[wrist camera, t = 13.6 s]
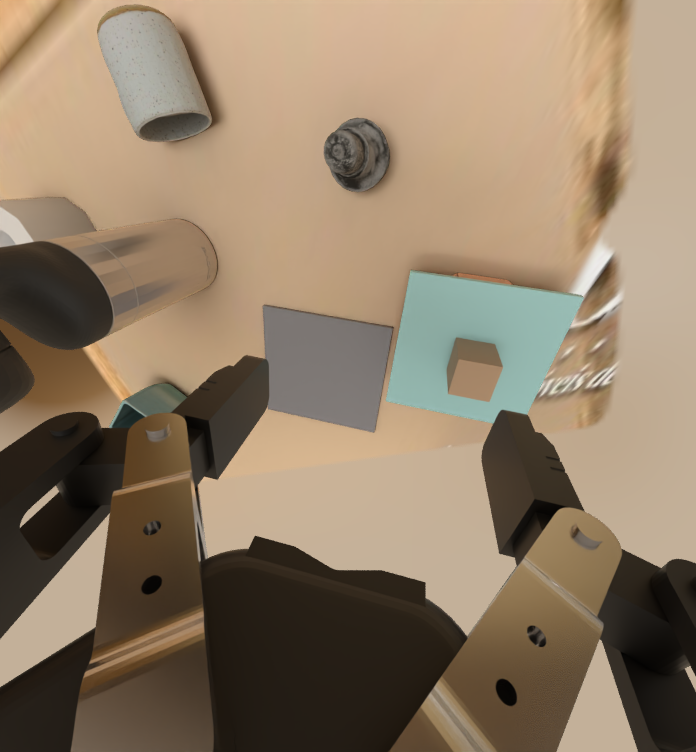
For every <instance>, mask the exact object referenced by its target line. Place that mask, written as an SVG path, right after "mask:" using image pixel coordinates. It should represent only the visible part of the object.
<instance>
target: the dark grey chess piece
mask: <svg viewBox="0 0 696 752" xmlns="http://www.w3.org/2000/svg"><path fill="white" fill-rule="evenodd" d="M324 157H325V160H326V163H327V165H328V166H329V168H330V170H331V173H332V175H333V177H334V178H335V180H336V181H337V183H339V184H340V185H341V186H342V187H343V188H345V189H347V190H349V191H354V192H361V191H366V190H368V189H370V188H372V187H374V186H375V185H376V184H377V183H378V182H379V181H380V180H381V179H382V178H383V176H384V175H385V173H386V171H387V168H388V166H389V159H390V154H389V147H388V144H387V141H386V138H385V136H384V134H383V132H382V131H381V129H380V128H379V127H378V126H377V125H376V124H375V123H374V122H372V121H370V120H367V119H364V118H355V119H350V120H348V121H346V122H345V123H343V124H342V125H341V126H340V127H339V128H338V129H337V130H336V131H335V132H333V133H332V134H331V135H330V136H329V137H328V138H327V140H326V142H325V146H324Z"/></svg>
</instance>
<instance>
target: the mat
mask: <svg viewBox="0 0 696 752" xmlns="http://www.w3.org/2000/svg"><path fill="white" fill-rule="evenodd" d="M263 318H264V338H265V358H266V359H267V360H268V363H269V402H268V409H270V410H275V411H279V412H284V413H288V414H293V415H297V416H302V417H306V418H311V419H315V420H320V421H324V422H329V423H333V424H338V425H342V426H347V427H351V428H356V429H360V430H365V431H369V432H375V426H376V421H377V415H378V410H379V404H380V398H381V393H382V387H383V381H384V376H385V370H386V365H387V359H388V353H389V348H390V342H391V336H392V331H393V327H389V326H383V325H378V324H372V323H366V322H361V321H355V320H349V319H343V318H338V317H332V316H326V315H320V314H315V313H309V312H303V311H298V310H292V309H286V308H280V307H275V306H269V305H263Z"/></svg>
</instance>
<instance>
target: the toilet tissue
mask: <svg viewBox="0 0 696 752" xmlns="http://www.w3.org/2000/svg"><path fill="white" fill-rule="evenodd" d="M95 231H96V229H95V228H94V226H93V224H92V223H91V221H90V219H89V218H88V216H87V214H86V213H85V212H84V211H83V210H81V209H80V208H79V207H77V206H76V205H75V204H73V203H72V202H70V201H69V200H68V199H66V198H55V197H46V198H28V199H10V200H0V247H5V246H12V245H18V244H24V243H30V242H35V241H41V240H48V239H54V238H60V237H66V236H71V235H77V234H83V233H89V232H95Z"/></svg>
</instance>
